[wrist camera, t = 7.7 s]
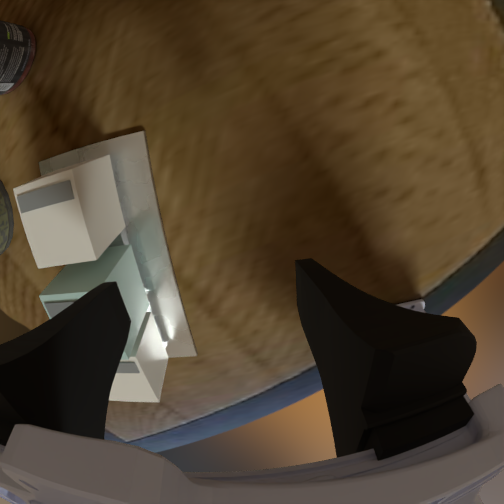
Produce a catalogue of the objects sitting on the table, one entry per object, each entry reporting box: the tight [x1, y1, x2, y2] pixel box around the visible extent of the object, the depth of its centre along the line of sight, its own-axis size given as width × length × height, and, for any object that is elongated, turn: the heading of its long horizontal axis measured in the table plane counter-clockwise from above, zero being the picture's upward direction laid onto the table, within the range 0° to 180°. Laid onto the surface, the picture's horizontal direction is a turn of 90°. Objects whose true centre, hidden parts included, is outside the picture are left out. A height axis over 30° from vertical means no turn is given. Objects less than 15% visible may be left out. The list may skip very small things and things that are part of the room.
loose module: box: [39, 244, 149, 360], centre depth 18 cm, size 4×5×6 cm
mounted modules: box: [13, 155, 169, 402], centre depth 18 cm, size 4×17×5 cm, turn 6°
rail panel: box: [39, 131, 197, 357], centre depth 21 cm, size 9×19×1 cm, turn 6°
